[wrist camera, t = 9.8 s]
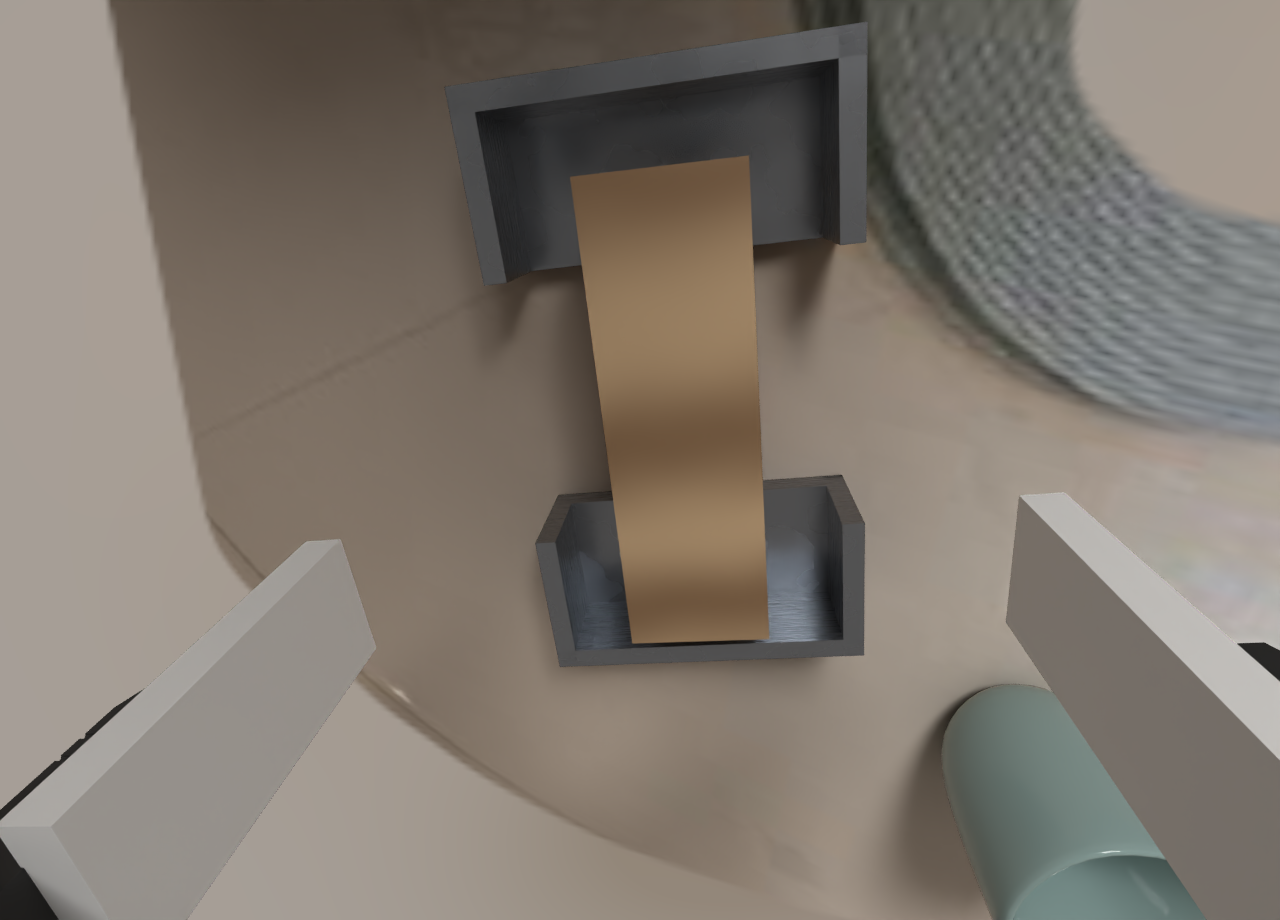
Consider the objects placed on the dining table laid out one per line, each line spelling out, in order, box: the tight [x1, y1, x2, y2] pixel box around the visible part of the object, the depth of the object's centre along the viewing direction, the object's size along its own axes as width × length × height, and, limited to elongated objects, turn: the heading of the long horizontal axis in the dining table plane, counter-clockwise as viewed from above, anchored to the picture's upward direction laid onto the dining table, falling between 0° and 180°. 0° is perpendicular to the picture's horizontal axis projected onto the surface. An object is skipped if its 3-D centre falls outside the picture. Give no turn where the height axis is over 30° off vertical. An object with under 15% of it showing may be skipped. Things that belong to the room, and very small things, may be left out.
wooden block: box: [570, 156, 769, 643], centre depth 24 cm, size 16×5×6 cm, turn 6°
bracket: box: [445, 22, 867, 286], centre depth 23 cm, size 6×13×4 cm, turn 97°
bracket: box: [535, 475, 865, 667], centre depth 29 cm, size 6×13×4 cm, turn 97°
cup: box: [941, 684, 1206, 920], centre depth 29 cm, size 8×8×10 cm
